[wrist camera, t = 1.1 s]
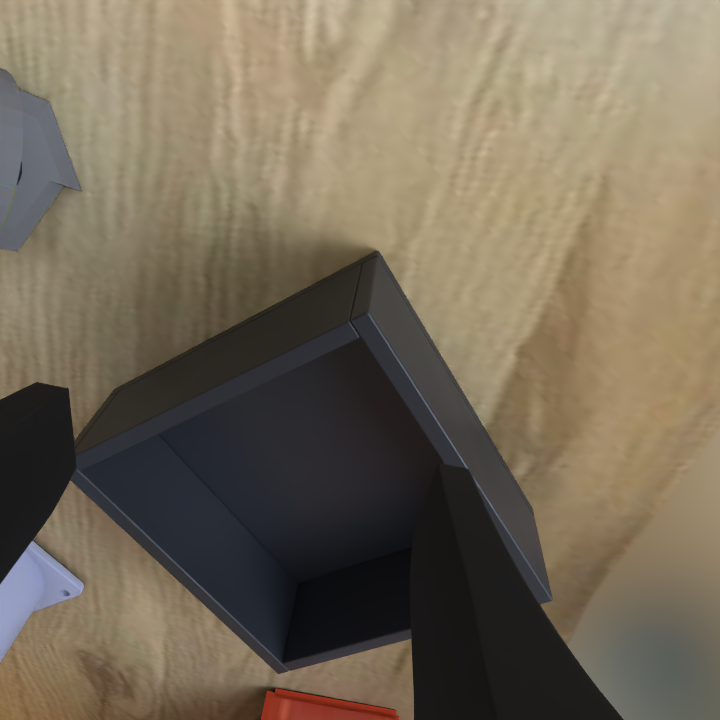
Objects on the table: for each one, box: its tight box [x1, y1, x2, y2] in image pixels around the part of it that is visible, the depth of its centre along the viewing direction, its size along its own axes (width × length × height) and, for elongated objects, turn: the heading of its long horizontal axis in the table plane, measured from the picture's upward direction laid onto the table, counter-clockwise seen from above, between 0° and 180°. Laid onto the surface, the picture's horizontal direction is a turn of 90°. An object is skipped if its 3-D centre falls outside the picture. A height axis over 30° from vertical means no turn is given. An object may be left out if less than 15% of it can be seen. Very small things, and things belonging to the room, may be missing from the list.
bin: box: [70, 251, 552, 674], centre depth 22 cm, size 12×13×4 cm
